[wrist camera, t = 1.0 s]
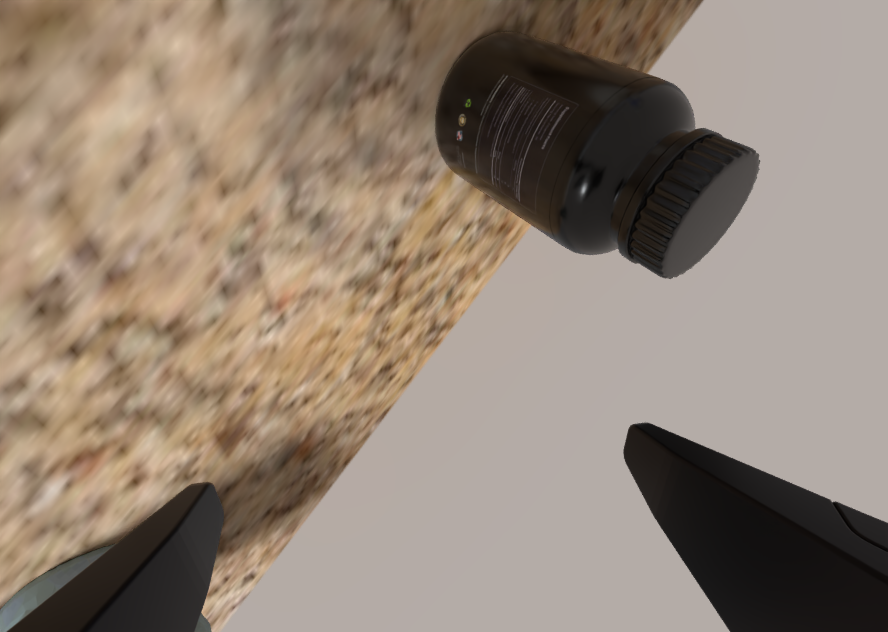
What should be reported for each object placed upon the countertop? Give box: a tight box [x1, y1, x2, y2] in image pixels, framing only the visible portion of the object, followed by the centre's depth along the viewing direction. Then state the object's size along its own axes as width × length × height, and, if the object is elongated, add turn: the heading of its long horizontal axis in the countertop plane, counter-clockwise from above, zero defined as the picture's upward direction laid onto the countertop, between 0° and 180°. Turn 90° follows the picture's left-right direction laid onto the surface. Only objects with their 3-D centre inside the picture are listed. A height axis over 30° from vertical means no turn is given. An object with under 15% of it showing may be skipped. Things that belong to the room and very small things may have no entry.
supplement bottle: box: [435, 31, 760, 279], centre depth 19 cm, size 7×7×12 cm
